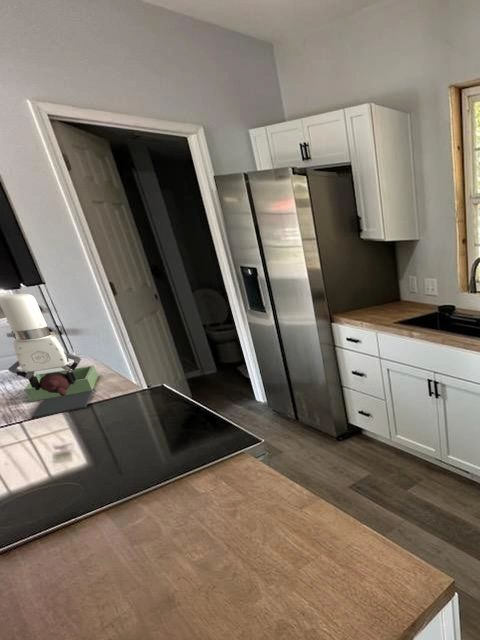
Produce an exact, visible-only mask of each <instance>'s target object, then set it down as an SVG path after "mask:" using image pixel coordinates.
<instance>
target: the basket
mask: <svg viewBox="0 0 480 640" xmlns="http://www.w3.org/2000/svg"><path fill="white" fill-rule="evenodd" d="M56 372H59V373H63V374H66V373H67V371H66V370H62V371H56ZM73 372H74V374H75V376H76V379H77V380H76V381H75V383H74V384H71V385H70V386H69V387H68V389H67V390H66V395H69V394H75V393H80V392H86V391H93V389H94V387H95V384H96V382H97V380H98V378H99V375H98V372H97V370H96V368H95V365H89V366H83V367H76V368H75V369H74V370H73ZM50 373H55V372H50ZM46 374H48V373H43V374H37V375H36V376H35V377H37V379H38V381H39V383H40V379H41V378H42V377H43V376H45V375H46ZM23 389H24V392H25V394H26V396H27V398H28V400H29V401H28V402H35V401H43V400H44V399H47V398H53V397H58V396H61V395H60V394H59V393H50V392H48V391H46V390H43V389H42V388H40V389H39V390H36V389H35V388H32V386H31V384H30V382H29V383H28V385H26V387H25V388H23Z"/></svg>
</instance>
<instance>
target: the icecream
mask: <svg viewBox="0 0 480 640" xmlns="http://www.w3.org/2000/svg"><path fill="white" fill-rule="evenodd" d="M70 385H71V383H70V381H69V379H68V377H67V374H63V373H59V372H55V373H48V374H46V375H45V376H43V377H42V378H41V379H40V383H39V387H41V388H42V389H43V390H46V391H48V392H50V393H59V394H60V395H61V396H65V395H66V390H67V389H68V387H69V386H70Z"/></svg>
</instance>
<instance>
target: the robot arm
mask: <svg viewBox="0 0 480 640" xmlns="http://www.w3.org/2000/svg"><path fill="white" fill-rule="evenodd" d="M2 319H6V321H7V323H8V325H9V327H10V329H11V332H6V337H7V338H13V339H15V340H13V341H12V343H13V349H14V353H15V355H16V358H17V361H15V362H14V363H13V364H12V365H10V367H9V368H8V369H7V370H8V371H9V372H11V373H13V374H16V375H17V376H19V377H22V378H25V379H26V380H28V382H29V383H30V384H31V386H32V388H35V389H36V390H39V389H40V388H41V387H39V381H38V379H37V377H35V376H34V375H33V374H34V372H35V371H40V370H47V369H53V368H59V367H61V368H63V369H64V370H66V371H67V373H66V374H67V377H68V379H69V381H70V383H71V384H74V383H75V381H76V380H77V379H76V376H75V374H74V372H73V370H74V369H75V368H78V366H79V364H80V362H81V360H82V357H80V356H77V355H74V354H71V353H68V352H66V351H65V349H64V347H63V345H61V342H60V341H59V339H58V337H57V336H56V337H57V338H56V337H55V336H54V335H51V333H50V332H51V331H50V329H49V327H48V324H47V322H46V320H45V317H44V315H43V312H42V311H41V308H40V305H39V304H38V301H37V299H36V297H35V296H34V295H32V294H30V293H7V292H6V293H5V292H0V320H2ZM57 339H58V340H57ZM70 360H73V362H72V364H71V365H70V364H69V365H68V364H67V363H68V362H69V361H70ZM19 367H20V368H21V369H19Z"/></svg>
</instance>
